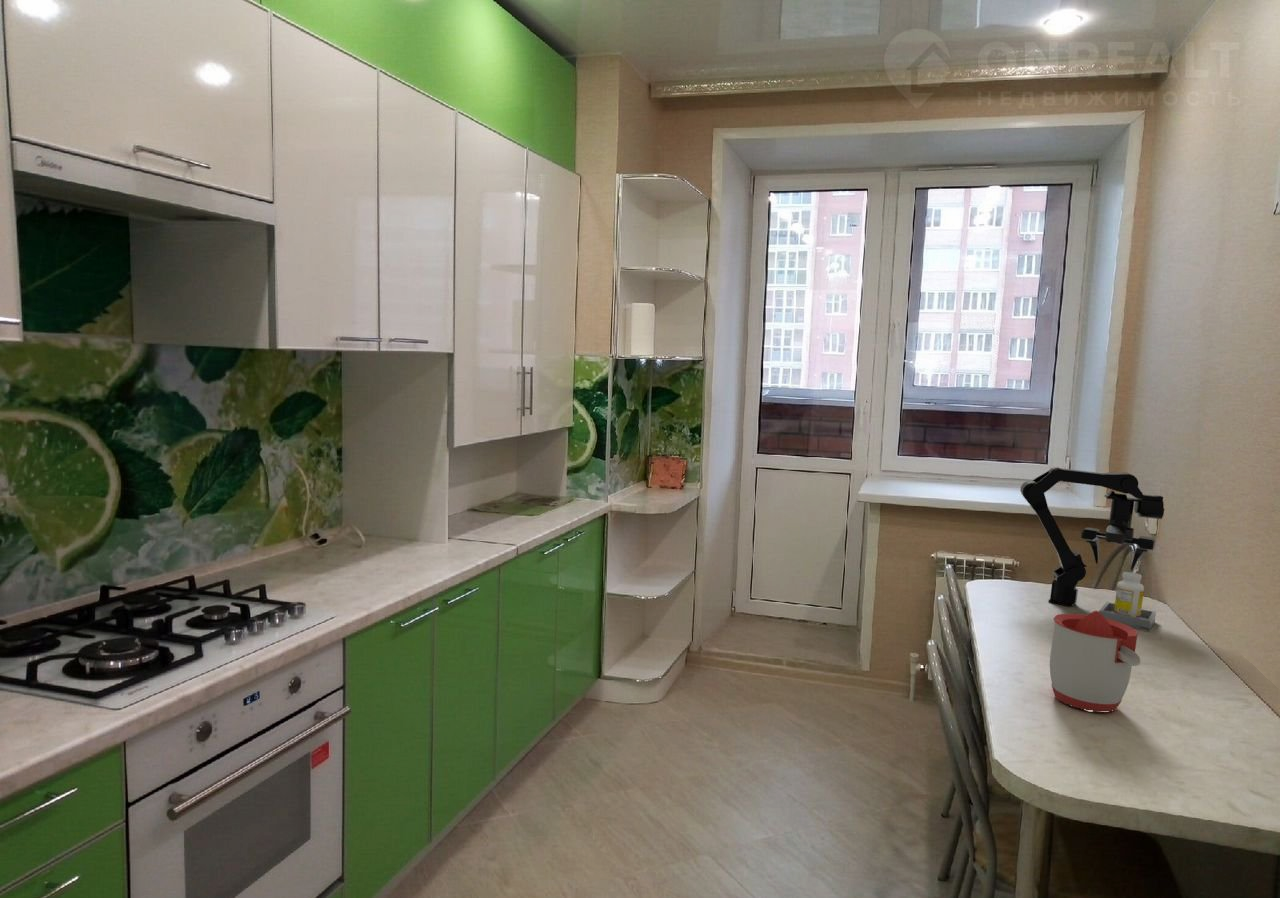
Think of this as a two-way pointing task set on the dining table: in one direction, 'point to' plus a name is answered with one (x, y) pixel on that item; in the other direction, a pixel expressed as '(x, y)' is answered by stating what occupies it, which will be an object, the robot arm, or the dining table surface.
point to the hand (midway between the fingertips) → (1114, 566)
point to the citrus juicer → (1091, 660)
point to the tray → (1129, 617)
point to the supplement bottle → (1129, 595)
